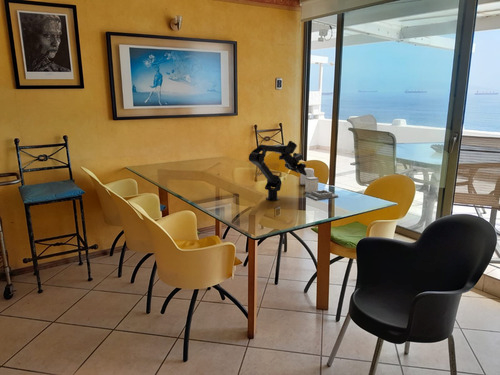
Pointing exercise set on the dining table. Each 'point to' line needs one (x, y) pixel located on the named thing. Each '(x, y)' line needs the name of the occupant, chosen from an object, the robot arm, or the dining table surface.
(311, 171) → the photo printer
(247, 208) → the dining table surface
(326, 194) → the socket board
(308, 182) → the plug
